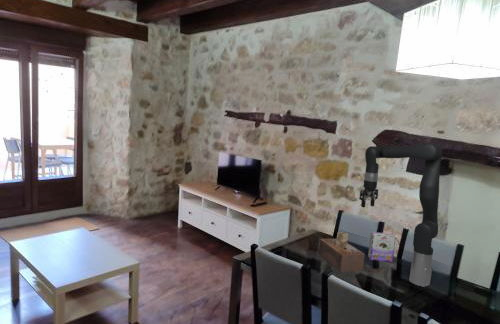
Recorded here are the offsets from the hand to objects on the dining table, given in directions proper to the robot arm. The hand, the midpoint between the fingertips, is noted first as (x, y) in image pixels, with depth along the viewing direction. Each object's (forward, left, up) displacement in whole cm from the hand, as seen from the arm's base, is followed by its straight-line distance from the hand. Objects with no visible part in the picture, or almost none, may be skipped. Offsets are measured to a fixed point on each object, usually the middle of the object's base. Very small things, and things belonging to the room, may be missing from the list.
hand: (367, 206), depth 211 cm
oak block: (+4, +15, -24) cm, 28 cm away
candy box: (-4, -13, -34) cm, 37 cm away
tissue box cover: (+4, +15, -34) cm, 37 cm away
